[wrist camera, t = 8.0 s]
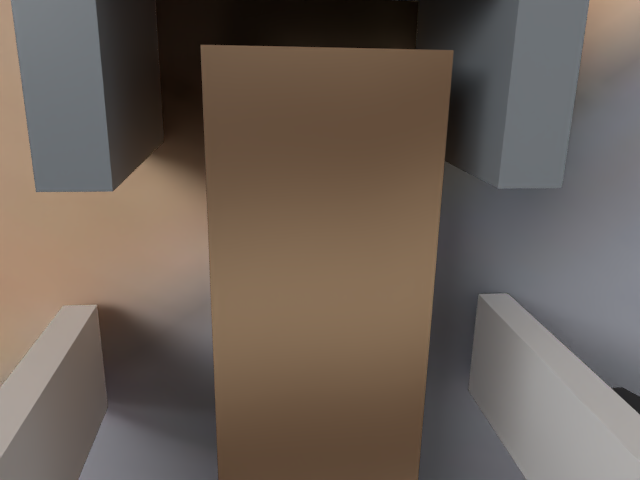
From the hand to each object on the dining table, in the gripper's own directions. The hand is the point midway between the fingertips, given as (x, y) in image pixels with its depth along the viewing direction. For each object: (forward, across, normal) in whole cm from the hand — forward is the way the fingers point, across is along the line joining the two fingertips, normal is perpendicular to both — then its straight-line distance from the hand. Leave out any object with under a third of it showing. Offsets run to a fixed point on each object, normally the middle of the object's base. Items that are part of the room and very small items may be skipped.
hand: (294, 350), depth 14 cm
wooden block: (+1, 0, 0) cm, 1 cm away
